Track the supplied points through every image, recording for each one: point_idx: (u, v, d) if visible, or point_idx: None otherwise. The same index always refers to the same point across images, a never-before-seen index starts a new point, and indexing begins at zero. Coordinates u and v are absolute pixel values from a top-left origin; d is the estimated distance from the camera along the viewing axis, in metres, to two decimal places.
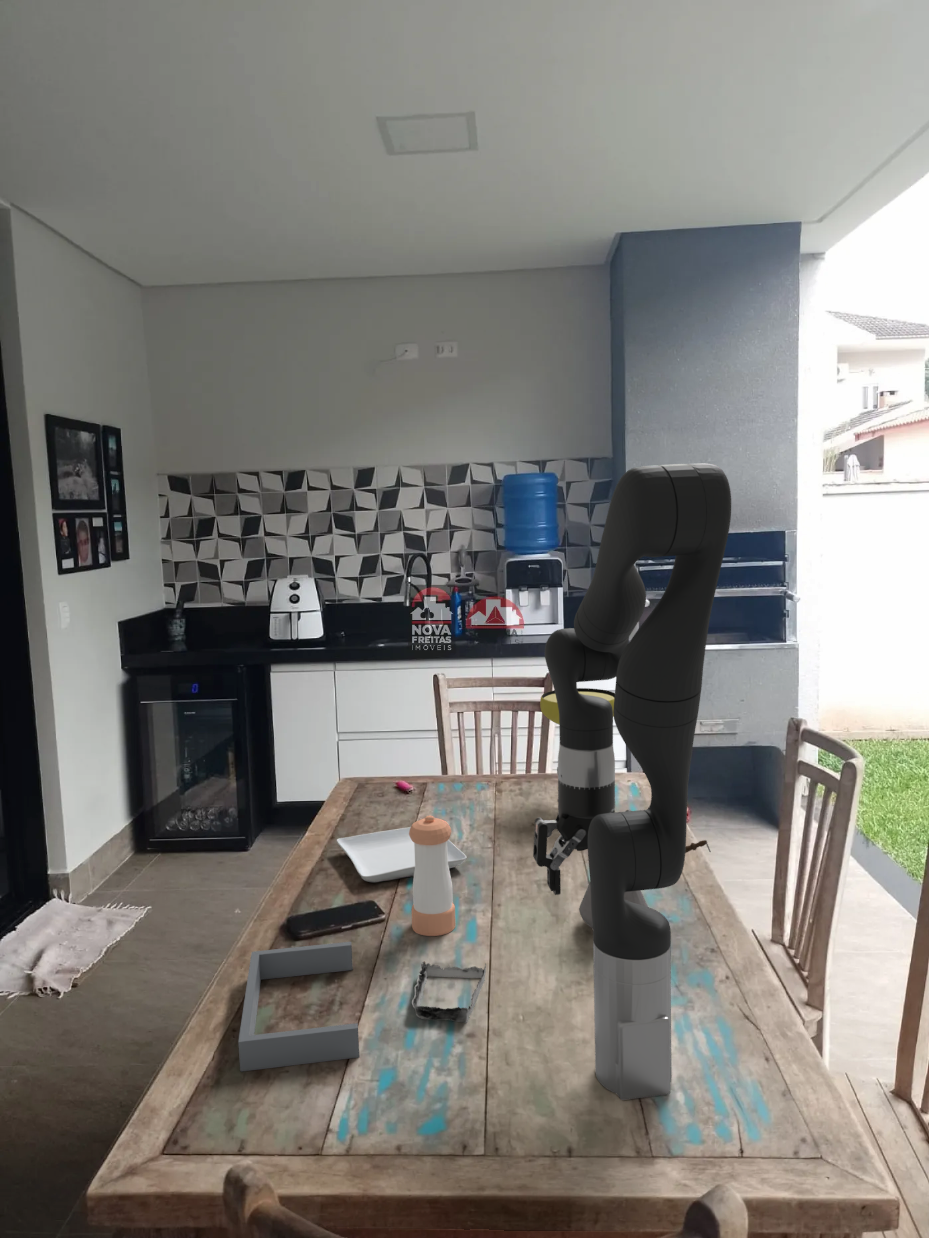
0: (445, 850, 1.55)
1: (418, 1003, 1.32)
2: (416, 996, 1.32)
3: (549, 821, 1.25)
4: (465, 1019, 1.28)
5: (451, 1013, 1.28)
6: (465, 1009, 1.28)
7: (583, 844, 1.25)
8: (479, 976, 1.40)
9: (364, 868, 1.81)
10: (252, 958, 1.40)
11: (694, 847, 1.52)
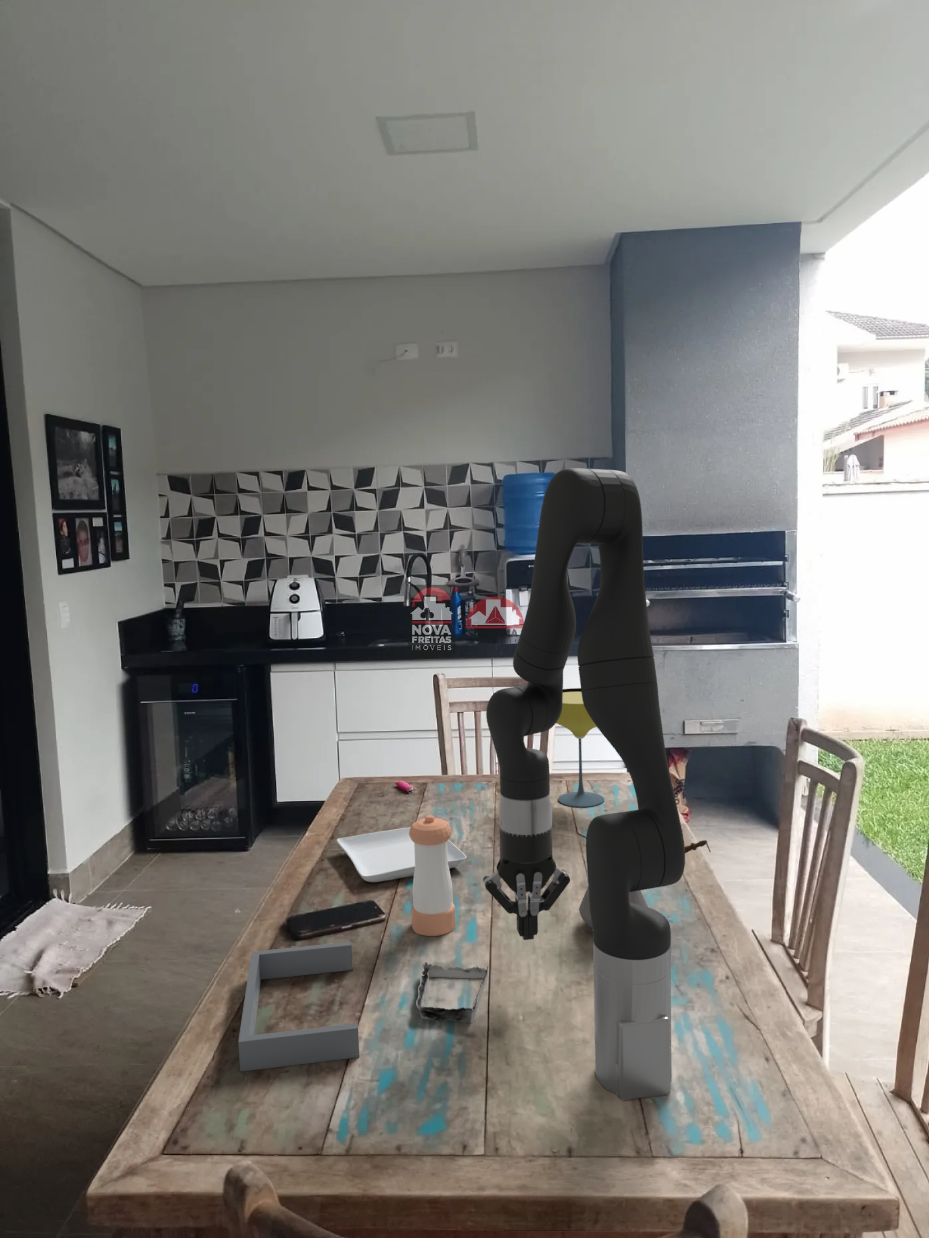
0: (445, 850, 1.55)
1: (422, 1004, 1.32)
2: (420, 997, 1.32)
3: (492, 875, 1.34)
4: (470, 1019, 1.28)
5: (456, 1013, 1.28)
6: (470, 1009, 1.28)
7: None
8: (481, 976, 1.40)
9: (364, 868, 1.81)
10: (252, 958, 1.40)
11: (694, 847, 1.52)
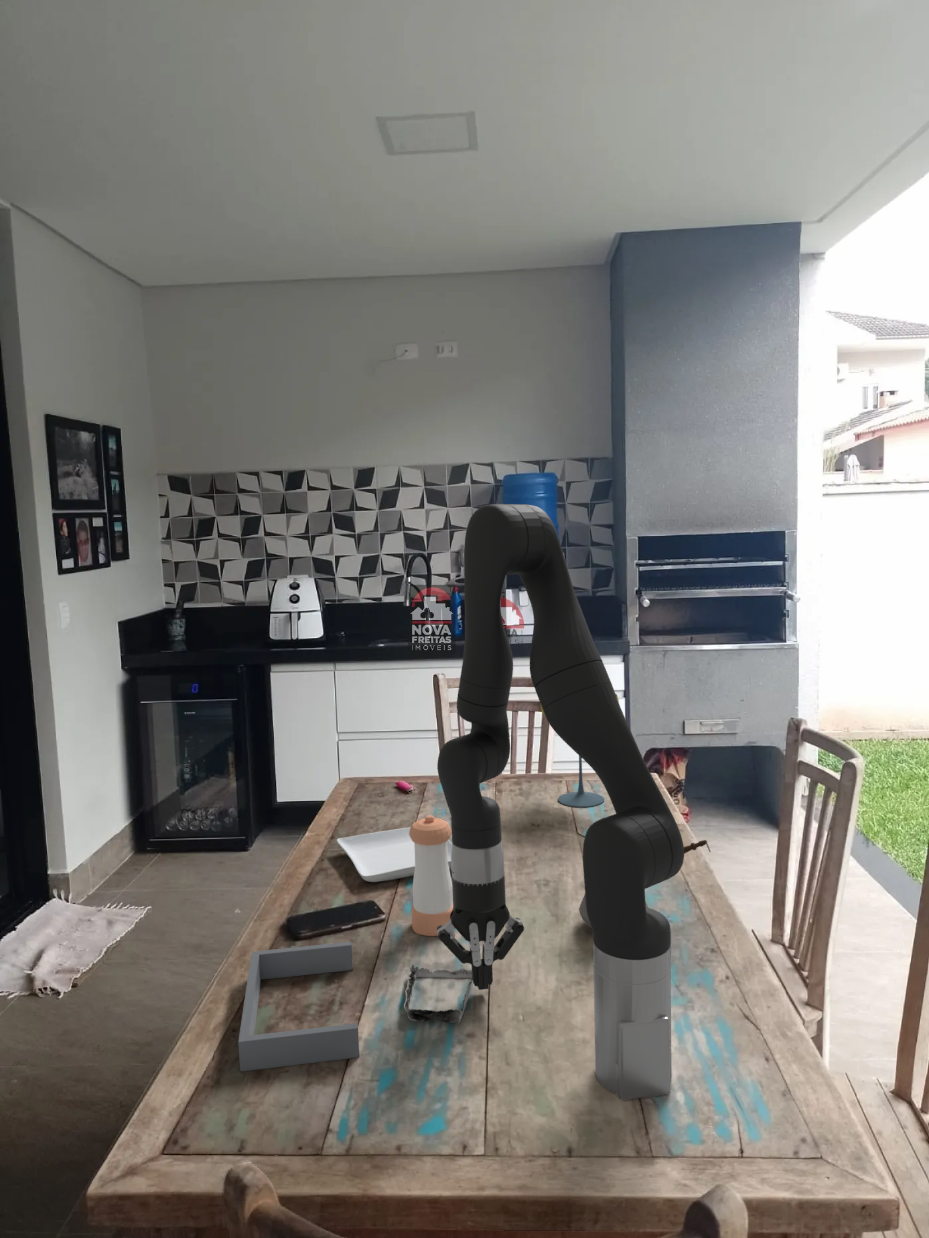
0: (445, 850, 1.55)
1: (409, 1006, 1.32)
2: (407, 999, 1.32)
3: (445, 925, 1.34)
4: (458, 1021, 1.28)
5: (444, 1015, 1.28)
6: (458, 1011, 1.28)
7: None
8: None
9: (364, 868, 1.81)
10: (252, 958, 1.40)
11: (694, 847, 1.52)
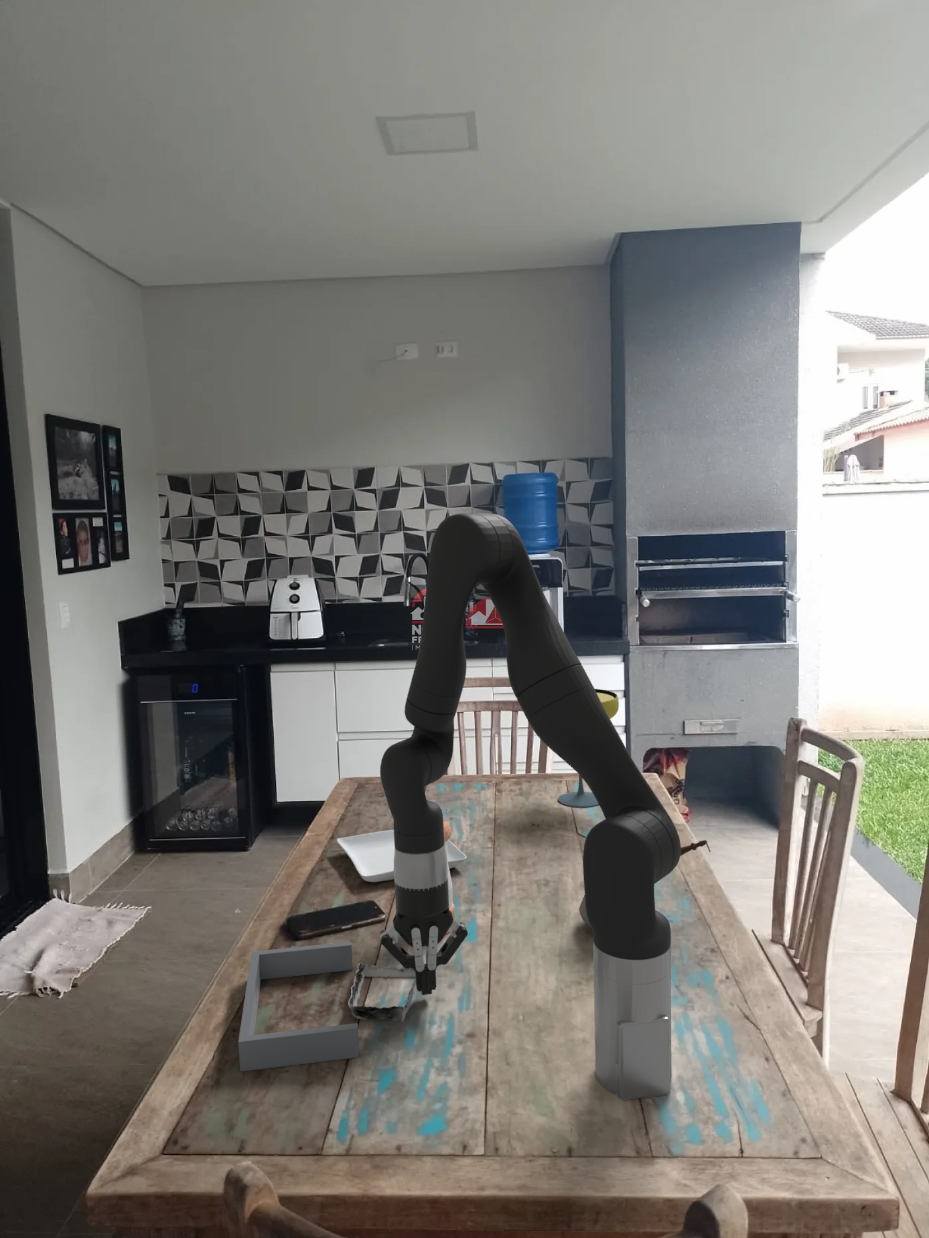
0: (445, 850, 1.55)
1: (354, 1003, 1.33)
2: (352, 996, 1.32)
3: (388, 930, 1.33)
4: (401, 1018, 1.29)
5: (388, 1012, 1.29)
6: (401, 1008, 1.28)
7: None
8: None
9: (364, 868, 1.81)
10: (252, 958, 1.40)
11: (694, 847, 1.52)
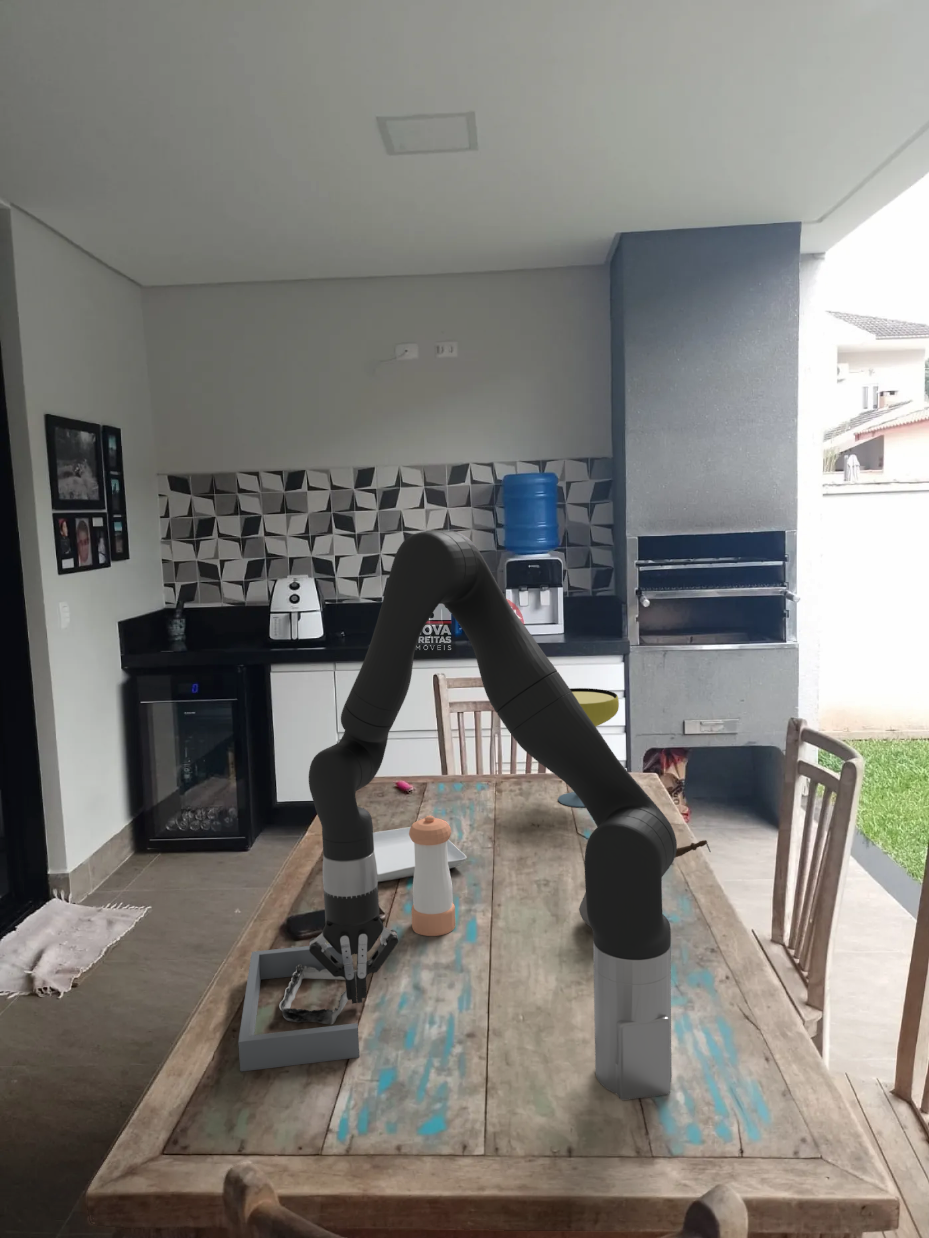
0: (445, 850, 1.55)
1: (287, 1005, 1.33)
2: (285, 998, 1.33)
3: (317, 938, 1.31)
4: (331, 1021, 1.29)
5: (317, 1015, 1.29)
6: (330, 1011, 1.28)
7: None
8: None
9: None
10: (252, 958, 1.40)
11: (694, 847, 1.52)
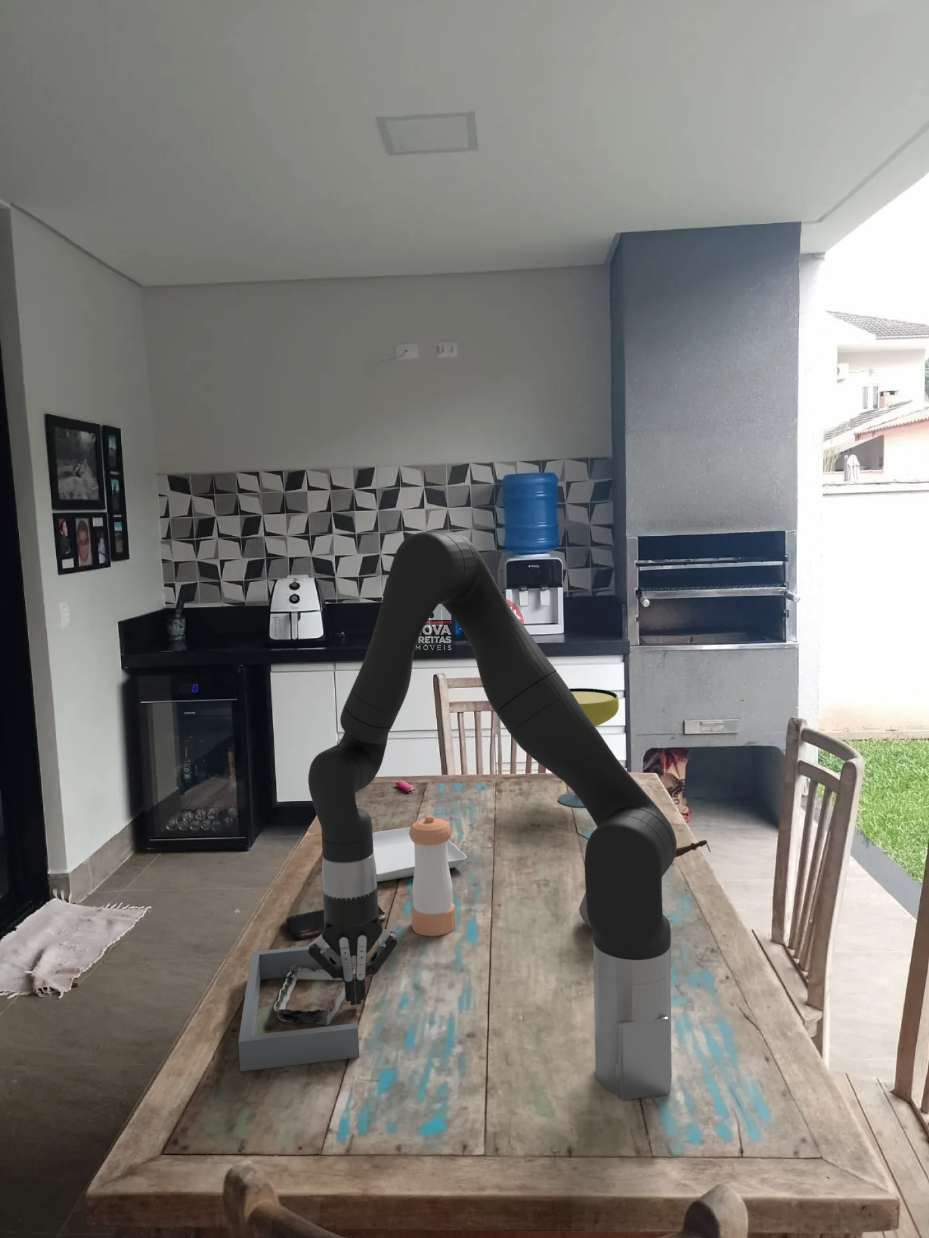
0: (445, 850, 1.55)
1: (282, 1006, 1.33)
2: (280, 999, 1.32)
3: (316, 939, 1.31)
4: (326, 1021, 1.29)
5: (312, 1015, 1.29)
6: (326, 1011, 1.28)
7: None
8: None
9: None
10: (252, 958, 1.40)
11: (694, 847, 1.52)
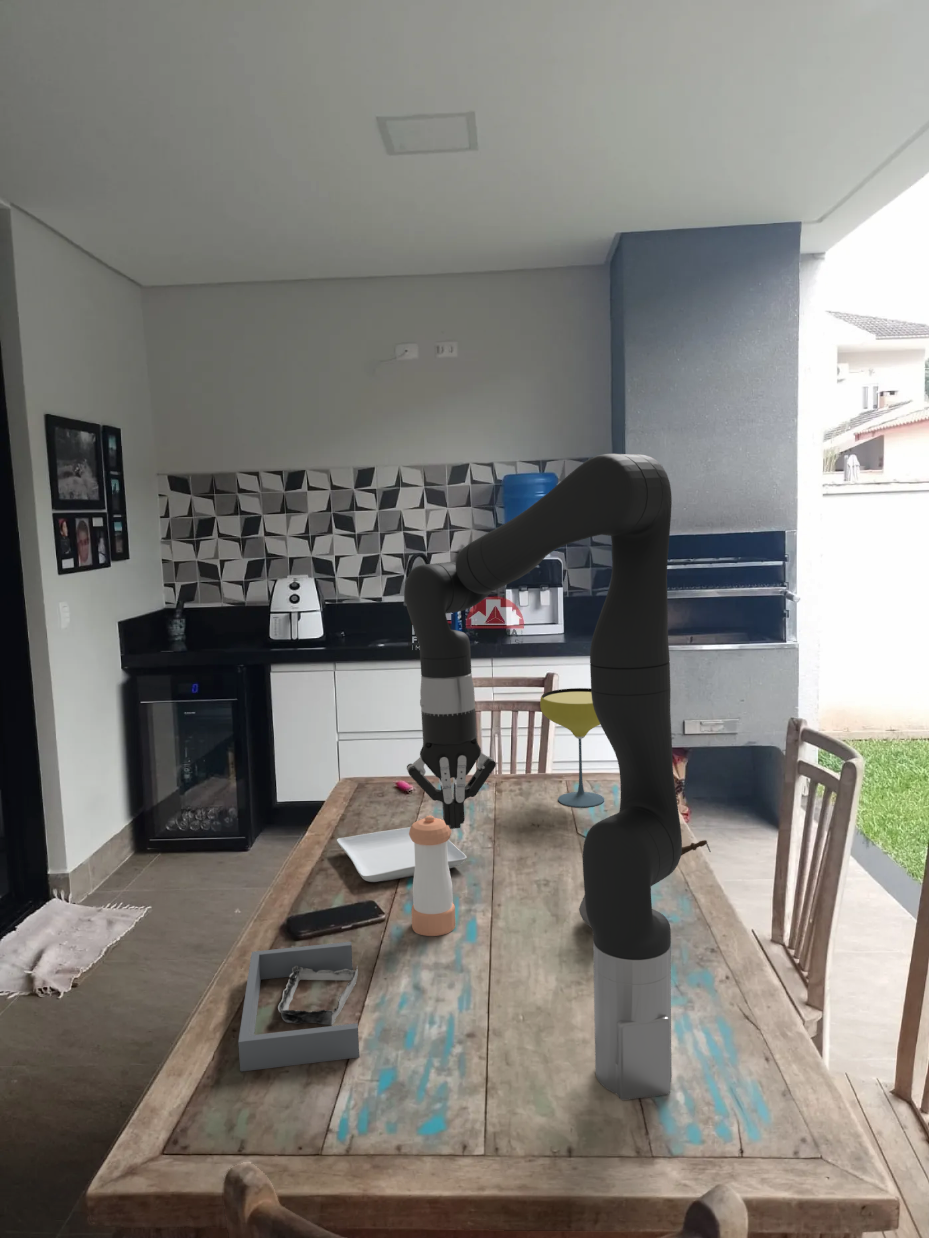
0: (445, 850, 1.55)
1: (286, 1007, 1.32)
2: (283, 1000, 1.32)
3: (415, 762, 1.31)
4: (330, 1021, 1.28)
5: (317, 1016, 1.29)
6: (330, 1011, 1.28)
7: None
8: None
9: (364, 868, 1.81)
10: (252, 958, 1.40)
11: (694, 847, 1.52)
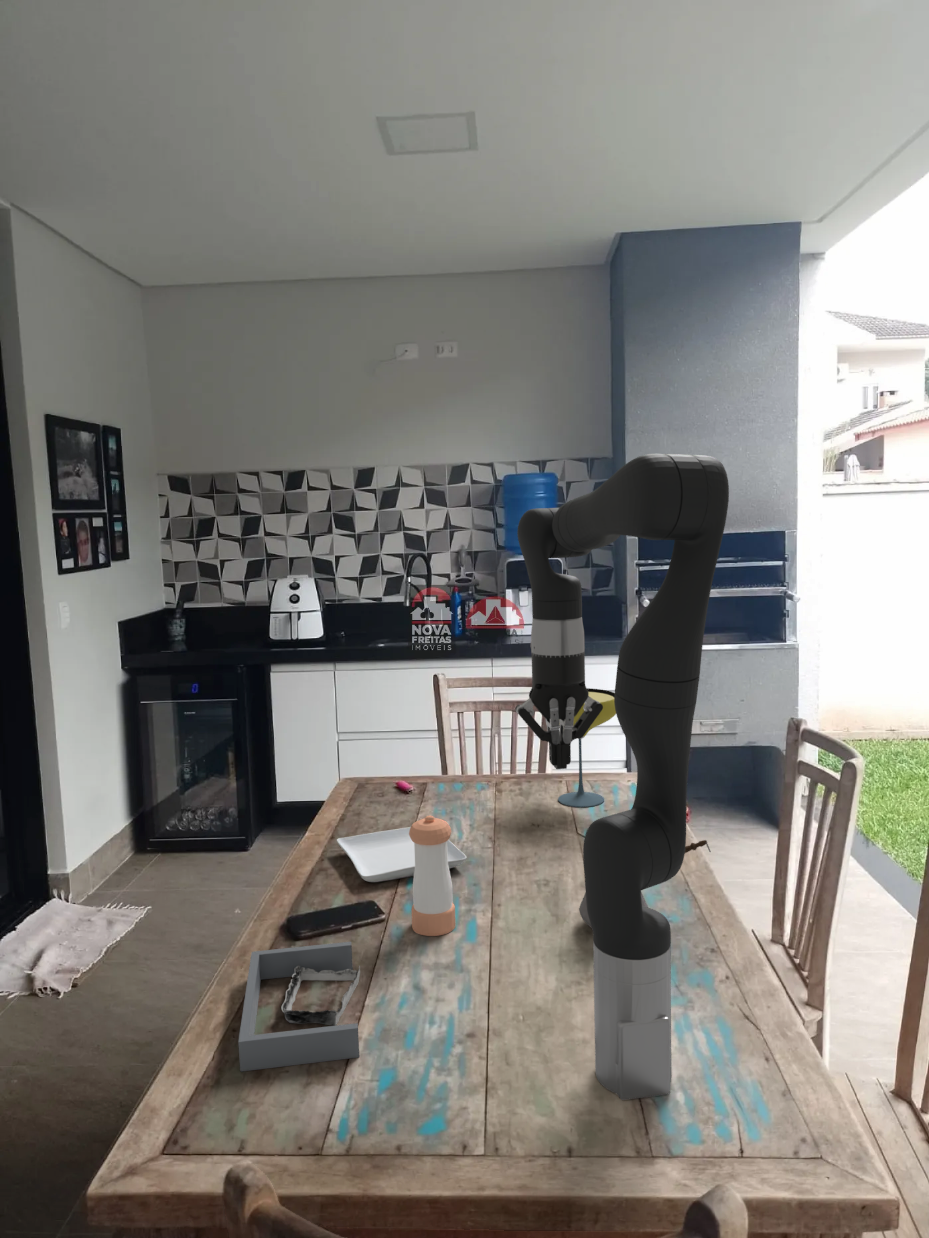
0: (445, 850, 1.55)
1: (289, 1007, 1.32)
2: (286, 1000, 1.32)
3: (525, 703, 1.34)
4: (334, 1022, 1.28)
5: (320, 1016, 1.29)
6: (334, 1012, 1.28)
7: None
8: (353, 978, 1.41)
9: (364, 868, 1.81)
10: (252, 958, 1.40)
11: (694, 847, 1.52)
